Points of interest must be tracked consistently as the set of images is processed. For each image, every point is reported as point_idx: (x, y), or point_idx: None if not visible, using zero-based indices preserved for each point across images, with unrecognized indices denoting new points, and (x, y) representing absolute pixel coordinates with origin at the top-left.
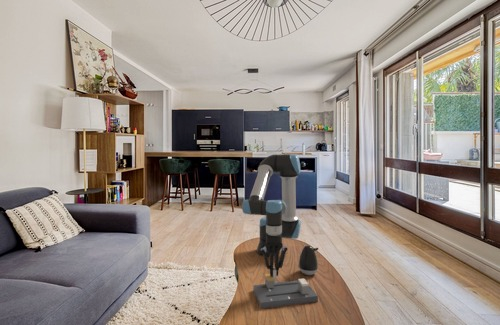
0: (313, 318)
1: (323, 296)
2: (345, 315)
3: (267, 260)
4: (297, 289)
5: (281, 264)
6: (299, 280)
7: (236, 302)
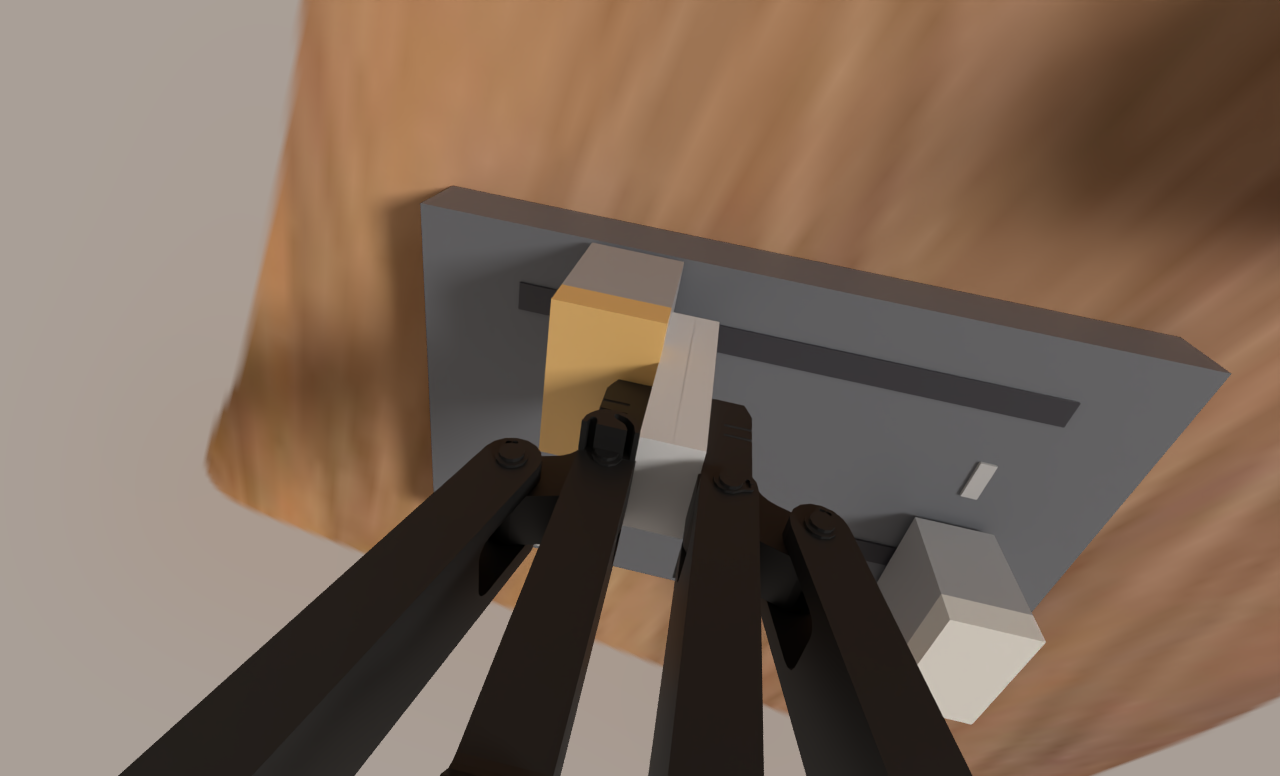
0: (770, 694)
1: (1107, 585)
2: (994, 757)
3: (409, 687)
4: (906, 510)
5: (798, 647)
6: (935, 646)
7: (256, 331)
